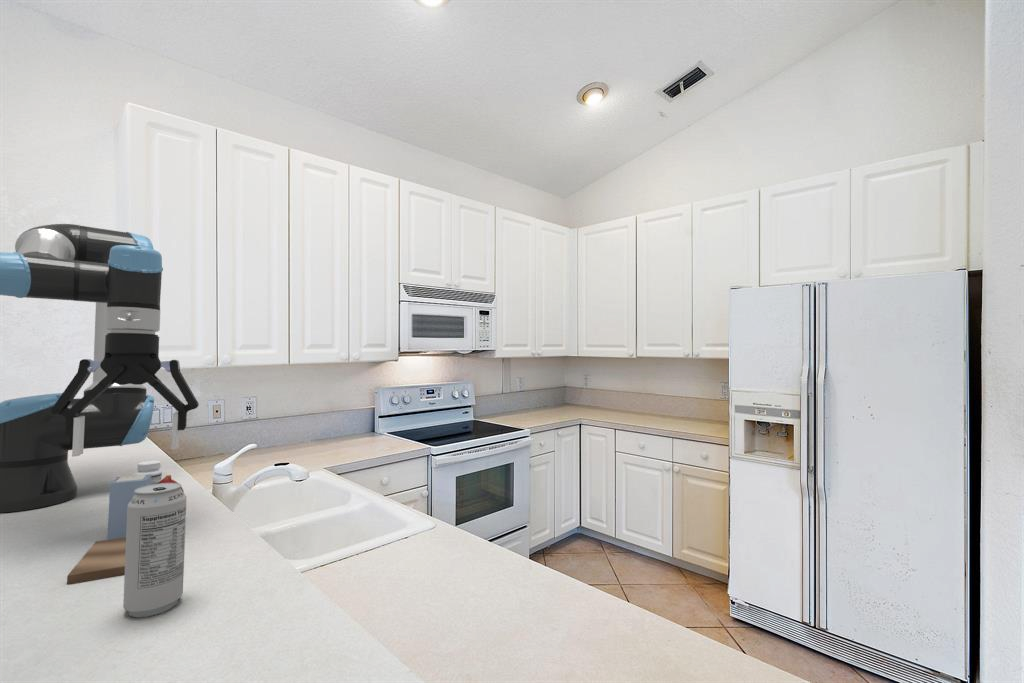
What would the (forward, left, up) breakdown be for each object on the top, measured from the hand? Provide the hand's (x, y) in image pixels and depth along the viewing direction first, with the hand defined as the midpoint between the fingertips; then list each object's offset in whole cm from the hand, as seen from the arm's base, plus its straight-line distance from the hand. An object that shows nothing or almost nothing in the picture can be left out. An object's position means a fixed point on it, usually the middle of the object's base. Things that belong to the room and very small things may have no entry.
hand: (128, 451), depth 83 cm
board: (+11, +2, -15) cm, 19 cm away
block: (-1, 0, -15) cm, 15 cm away
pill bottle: (-25, -1, -15) cm, 29 cm away
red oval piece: (-11, +4, -15) cm, 19 cm away
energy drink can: (+31, +8, -15) cm, 36 cm away
